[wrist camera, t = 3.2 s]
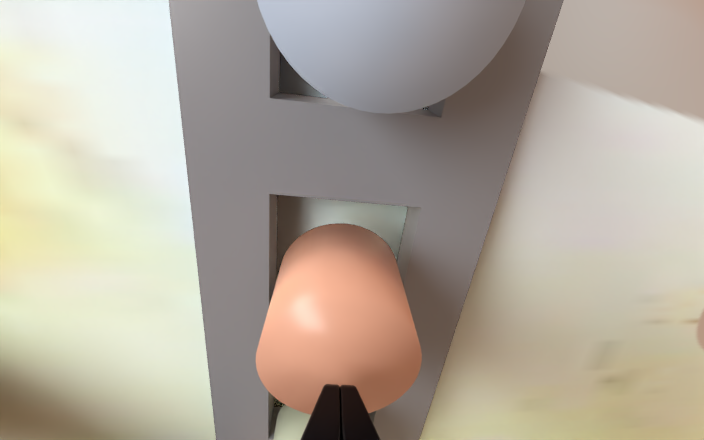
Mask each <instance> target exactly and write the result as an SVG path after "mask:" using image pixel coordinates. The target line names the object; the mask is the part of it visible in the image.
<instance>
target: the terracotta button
mask: <svg viewBox="0 0 704 440" xmlns="http://www.w3.org/2000/svg"><path fill="white" fill-rule="evenodd" d="M421 362H422V353H421V347H420V343H419V339H418V336H417V332H416V329H415V325H414V322H413V318H412V315H411V311H410V308H409V304H408V301H407V297H406V293H405V290H404V286H403V283H402V279H401V276H400V272H399V269H398V265H397V262H396V259H395V256H394V254H393V252H392V250H391V248H390V247H389V246H388V244H387V243H386V242H385V241H384V240H383V239H382V238H381V237H379V236H378V235H377V234H375V233H373V232H372V231H370V230H368V229H365V228H363V227H360V226H356V225H351V224H328V225H323V226H319V227H316V228H313V229H311V230H309V231H307V232H305V233H304V234H302V235H301V236H299V237H298V238H297V239H296V240H295V241H294V242H293V243H292V244H291V245H290V246H289V248H288V249H287V251H286V252H285V255H284V257H283V259H282V263H281V266H280V270H279V273H278V277H277V281H276V284H275V288H274V291H273V295H272V298H271V302H270V305H269V309H268V313H267V316H266V320H265V323H264V327H263V330H262V334H261V337H260V341H259V344H258V348H257V352H256V368H257V372H258V375H259V377H260V379H261V381H262V383H263V385H264V386H265V388H266V389H267V390H268V391H269V392H270V393H271V394H272V395H273V396H274V397H275V398H276V399H278V400H279V401H280V402H282V403H283V404H285V405H287V406H289V407H291V408H293V409H295V410H298V411H300V412H303V413H307V414H310V415H311V414H312V412H313V409H314V407H315V405H316V402H317V400H318V398H319V395H320V393H321V391H322V388H323V386H324V385H325V384H337V385H339V387H340V386H341V385H354V386H356V388H357V390H358V392H359V394H360V396H361V398H362V400H363V403H364V405H365V407H366V409H367V411H368V413H371V412H374V411H376V410H379V409H381V408H384V407H386V406H388V405H389V404H391V403H393V402H394V401H396V400H397V399H399V398H400V397H401V396H402V395H403V394H404V393H406V392H407V391H408V390H409V388H410V387H411V386H412V384H413V383H414V381H415V380H416V378H417V376H418V374H419V371H420V367H421Z"/></svg>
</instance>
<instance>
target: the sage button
mask: <svg viewBox="0 0 704 440" xmlns="http://www.w3.org/2000/svg"><path fill="white" fill-rule="evenodd" d="M310 416H311V415H310V414H307V413H303V412H300V411H298V410H295V409H293V408H291V407H289V406H287V405H284V406H283V407H282V408H281V409H280V411H279V413H278V416H277V421H276V427H275V433H274V439H273V440H300V439H301V437H302V435H303V432H304V430H305V428H306V425H307V423H308V421H309V419H310Z"/></svg>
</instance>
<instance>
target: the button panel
mask: <svg viewBox="0 0 704 440" xmlns="http://www.w3.org/2000/svg"><path fill="white" fill-rule="evenodd" d="M562 3H563V0H526V1H525V4H524V7H523V9H522V11H521V13H520V15H519V17H518V20H517V22H516V24H515V26H514V28H513V29H512V31H511V33H510V35H509V36H508V38H507V40H506V41H505V43H504V44H503V46H502V47H501V49H500V50H499V51H498V53H497V54H496V55H495V57H494V58H493V59H492V60H491V62H490V63H489V64H488V65H487V66H486V67H485V68H484V69H483V70H482V71H481V72H480V73H479V74H478V75H477V76H476V77H475V78H474V79H473V80H471V81H470V82H469V83H468V84H467V85H466V86H464V87H463V88H461V89H460V90H458V91H457V92H455V93H454V94H452V95H451V96H449V97H447V98H445V99H443V100H441V101H439V102H437V103H435V104H432V105H430V106H428V110H425V109H417V110H413V111H409V112H403V113H392V114H385V113H371V112H366V111H360V110H357V109H354V108H351V107H347V106H344V105H342V104H340V103H338V102H336V101H334V100H332V99H329V98H321V97H312V96H303V95H294V94H286V93H279V76H280V50H279V49H278V47H277V46H276V44H275V42H274V40H273V38H272V36H271V35H270V33H269V31H268V29H267V26H266V24H265V22H264V19H263V17H262V14H261V12H260V9H259V6H258V2H257V0H169V7H170V17H171V26H172V35H173V44H174V54H175V63H176V72H177V81H178V91H179V100H180V109H181V118H182V128H183V137H184V146H185V155H186V165H187V174H188V183H189V192H190V202H191V211H192V220H193V229H194V239H195V248H196V257H197V266H198V276H199V285H200V294H201V303H202V313H203V322H204V331H205V341H206V350H207V359H208V368H209V378H210V387H211V396H212V405H213V415H214V424H215V433H216V440H273V439H274V433H275V427H276V421H277V416H278V413H279V411H280V409H281V408H282V407H274V396H273V395H272V394H271V393H270V392H269V391H268V390H267V389H266V388H265V386H264V385H263V383H262V381H261V379H260V377H259V375H258V372H257V368H256V352H257V348H258V344H259V341H260V337H261V334H262V330H263V327H264V323H265V320H266V316H267V313H268V309H269V305H270V302H271V298H272V295H273V291H274V288H275V284H276V266H277V203H278V195H286V196H297V197H308V198H319V199H330V200H342V201H353V202H364V203H375V204H386V205H397V206H408V210H407V214H406V219H405V224H404V229H403V234H402V239H401V244H400V249H399V254H398V259H397V265H398V269H399V272H400V276H401V279H402V283H403V286H404V290H405V293H406V297H407V301H408V304H409V308H410V311H411V315H412V318H413V322H414V325H415V329H416V332H417V336H418V339H419V343H420V347H421V353H422V362H421V367H420V371H419V374H418V376H417V378H416V380H415V381H414V383H413V384H412V386H411V387H410V388H409V390H408V391H407V392H406V393H404V394H403V395H402V396H401V397H400V398H399V399H397V400H396V401H394V402H393V403H391V404H389V405H388V406H386V407H384V408H381V409H379V410H376V411H374V412H371V413H369V415H370V418H371V420H372V422H373V424H374V426H375V428H376V430H377V433H378V435H379V437H380V439H381V440H419V439H420V436H421V433H422V430H423V427H424V423H425V420H426V417H427V414H428V411H429V408H430V405H431V402H432V399H433V396H434V393H435V390H436V387H437V384H438V381H439V378H440V375H441V372H442V369H443V366H444V363H445V360H446V357H447V353H448V350H449V347H450V344H451V341H452V338H453V335H454V332H455V329H456V326H457V323H458V320H459V317H460V314H461V311H462V308H463V305H464V302H465V299H466V296H467V293H468V290H469V286H470V283H471V280H472V277H473V274H474V271H475V268H476V265H477V262H478V259H479V256H480V253H481V250H482V247H483V244H484V241H485V238H486V235H487V232H488V229H489V226H490V223H491V220H492V216H493V213H494V210H495V207H496V204H497V201H498V198H499V195H500V192H501V189H502V186H503V183H504V180H505V177H506V174H507V171H508V168H509V165H510V162H511V159H512V156H513V153H514V150H515V146H516V143H517V140H518V137H519V134H520V131H521V128H522V125H523V122H524V119H525V116H526V113H527V110H528V107H529V104H530V101H531V98H532V95H533V92H534V89H535V86H536V83H537V79H538V76H539V73H540V70H541V67H542V64H543V61H544V58H545V55H546V52H547V49H548V46H549V43H550V40H551V37H552V34H553V31H554V28H555V25H556V22H557V18H558V16H559V13H560V9H561V6H562Z"/></svg>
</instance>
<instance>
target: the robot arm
mask: <svg viewBox="0 0 704 440" xmlns="http://www.w3.org/2000/svg"><path fill="white" fill-rule="evenodd" d="M300 440H381V439H380V437H379V435H378V433H377V430H376V428H375V426H374V424H373V422H372V420H371V418H370V415H369V413H368V411H367V409H366V407H365V405H364V403H363V400H362V398H361V396H360V394H359V392H358V390H357V388H356V386H354V385H341V386H340V387H339V385H337V384H325V385H324V386H323V388H322V391H321V393H320V395H319V398H318V400H317V402H316V405H315V407H314V409H313V412H312V414H311V416H310V419H309V421H308V423H307V425H306V428H305V430H304V432H303V435H302V437H301V439H300Z"/></svg>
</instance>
